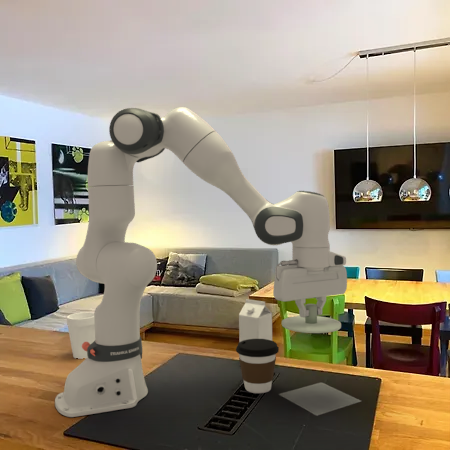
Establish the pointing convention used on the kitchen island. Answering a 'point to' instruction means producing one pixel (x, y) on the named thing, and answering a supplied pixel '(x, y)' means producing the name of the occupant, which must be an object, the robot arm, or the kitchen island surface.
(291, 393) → the mat
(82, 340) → the foam cup
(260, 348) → the coffee cup
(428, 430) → the kitchen island surface
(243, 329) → the milk carton
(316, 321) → the lid
